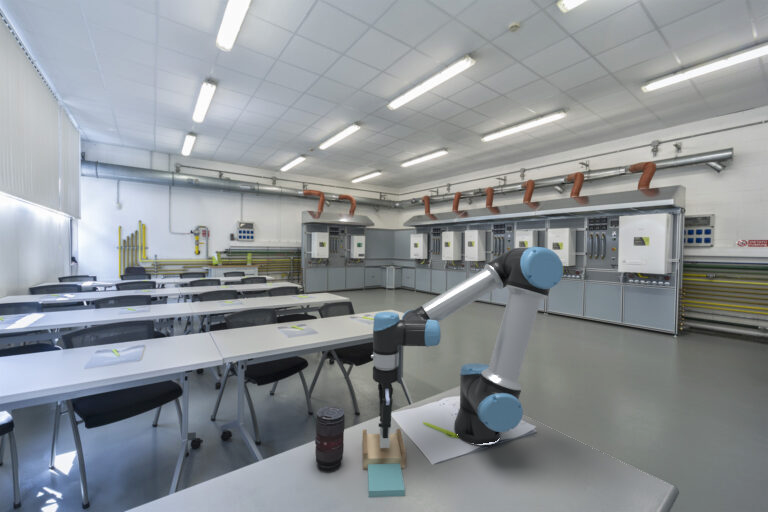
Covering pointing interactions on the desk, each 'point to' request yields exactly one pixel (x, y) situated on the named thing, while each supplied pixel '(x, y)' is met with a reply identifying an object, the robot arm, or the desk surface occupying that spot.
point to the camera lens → (329, 438)
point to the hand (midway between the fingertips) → (384, 446)
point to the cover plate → (385, 480)
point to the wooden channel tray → (383, 450)
